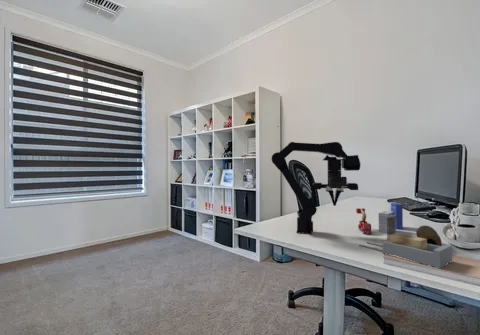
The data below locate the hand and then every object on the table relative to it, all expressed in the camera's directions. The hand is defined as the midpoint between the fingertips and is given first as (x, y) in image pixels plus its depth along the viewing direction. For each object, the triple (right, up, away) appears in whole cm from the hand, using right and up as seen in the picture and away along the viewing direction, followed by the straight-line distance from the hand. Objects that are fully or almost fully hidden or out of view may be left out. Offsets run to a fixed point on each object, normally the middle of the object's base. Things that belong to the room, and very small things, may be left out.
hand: (334, 205), depth 112 cm
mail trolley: (+13, -12, -29) cm, 34 cm away
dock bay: (+11, -12, -28) cm, 32 cm away
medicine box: (+25, -12, +2) cm, 28 cm away
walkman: (+33, -12, +9) cm, 36 cm away
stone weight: (+27, -12, -20) cm, 36 cm away
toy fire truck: (+14, -12, +3) cm, 19 cm away
